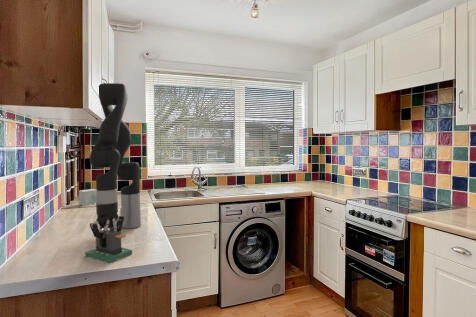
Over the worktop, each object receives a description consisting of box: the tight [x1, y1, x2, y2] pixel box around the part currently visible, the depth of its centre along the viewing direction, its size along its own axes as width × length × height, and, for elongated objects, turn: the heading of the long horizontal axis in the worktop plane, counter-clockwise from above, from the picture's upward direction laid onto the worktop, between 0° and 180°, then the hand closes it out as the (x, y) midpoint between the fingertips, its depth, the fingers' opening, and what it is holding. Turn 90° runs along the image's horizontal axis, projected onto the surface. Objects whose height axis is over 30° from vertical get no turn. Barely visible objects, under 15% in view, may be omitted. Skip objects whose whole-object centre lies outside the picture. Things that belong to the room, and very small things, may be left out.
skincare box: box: [78, 188, 96, 206], centre depth 209 cm, size 10×6×10 cm, turn 141°
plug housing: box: [95, 229, 126, 251], centre depth 111 cm, size 13×4×6 cm, turn 61°
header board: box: [84, 246, 133, 264], centre depth 112 cm, size 14×10×6 cm
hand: (108, 245), depth 112 cm, fingers closed on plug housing, 3 cm apart
